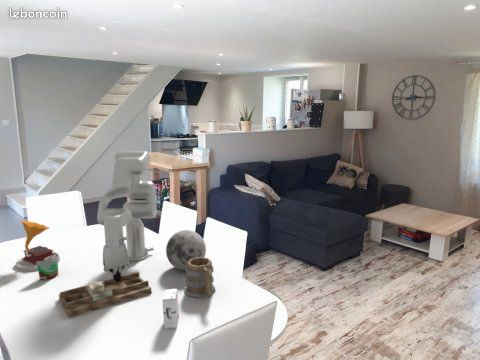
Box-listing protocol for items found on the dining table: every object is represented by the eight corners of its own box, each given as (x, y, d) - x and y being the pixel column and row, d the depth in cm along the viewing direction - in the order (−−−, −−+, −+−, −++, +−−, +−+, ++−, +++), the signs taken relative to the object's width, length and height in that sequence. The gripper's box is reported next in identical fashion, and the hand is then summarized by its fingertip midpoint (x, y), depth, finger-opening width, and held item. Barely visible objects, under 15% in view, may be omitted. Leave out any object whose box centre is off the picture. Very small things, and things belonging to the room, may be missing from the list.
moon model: (185, 257, 202) (185, 222, 198) (214, 266, 190) (213, 229, 187) (158, 270, 186) (156, 232, 182) (187, 280, 174) (186, 240, 171)
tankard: (182, 287, 168) (181, 256, 165) (208, 282, 173) (208, 252, 170) (195, 308, 150) (194, 274, 147) (224, 302, 155) (223, 269, 152)
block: (100, 289, 160) (100, 281, 159) (104, 294, 156) (103, 285, 155) (88, 293, 157) (88, 284, 156) (92, 297, 153) (91, 288, 152)
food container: (49, 282, 172) (47, 262, 170) (37, 281, 173) (35, 261, 171) (66, 271, 184) (64, 252, 182) (55, 270, 185) (53, 251, 183)
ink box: (166, 316, 144) (165, 288, 142) (179, 316, 144) (178, 287, 142) (163, 329, 135) (162, 299, 133) (177, 328, 136) (176, 299, 134)
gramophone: (29, 274, 180) (24, 226, 176) (8, 265, 191) (2, 219, 186) (68, 260, 197) (64, 216, 193) (46, 253, 208) (42, 210, 203)
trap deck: (136, 278, 177) (136, 269, 176) (151, 293, 162) (151, 283, 162) (59, 299, 157) (58, 289, 156) (68, 318, 142) (67, 307, 142)
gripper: (128, 235, 166) (130, 273, 170) (94, 243, 157) (97, 282, 161) (134, 240, 160) (136, 279, 164) (99, 248, 151) (102, 289, 155)
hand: (117, 280), depth 162 cm, fingers closed
